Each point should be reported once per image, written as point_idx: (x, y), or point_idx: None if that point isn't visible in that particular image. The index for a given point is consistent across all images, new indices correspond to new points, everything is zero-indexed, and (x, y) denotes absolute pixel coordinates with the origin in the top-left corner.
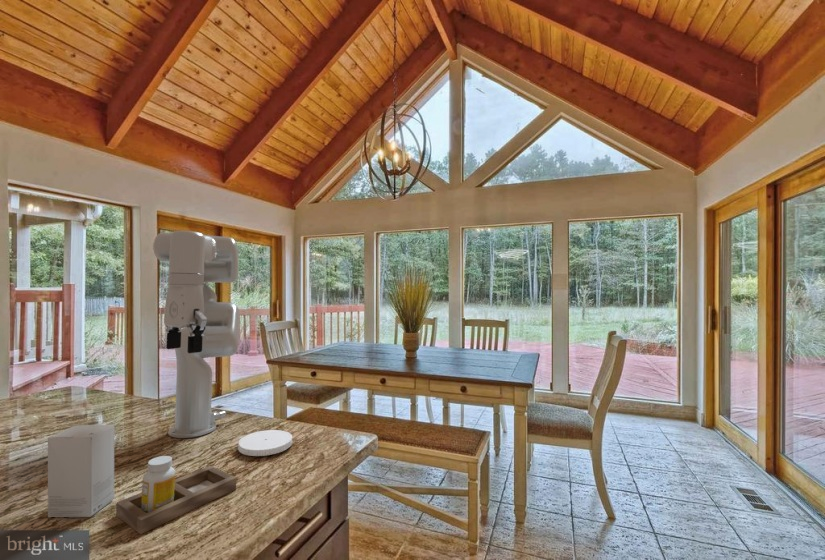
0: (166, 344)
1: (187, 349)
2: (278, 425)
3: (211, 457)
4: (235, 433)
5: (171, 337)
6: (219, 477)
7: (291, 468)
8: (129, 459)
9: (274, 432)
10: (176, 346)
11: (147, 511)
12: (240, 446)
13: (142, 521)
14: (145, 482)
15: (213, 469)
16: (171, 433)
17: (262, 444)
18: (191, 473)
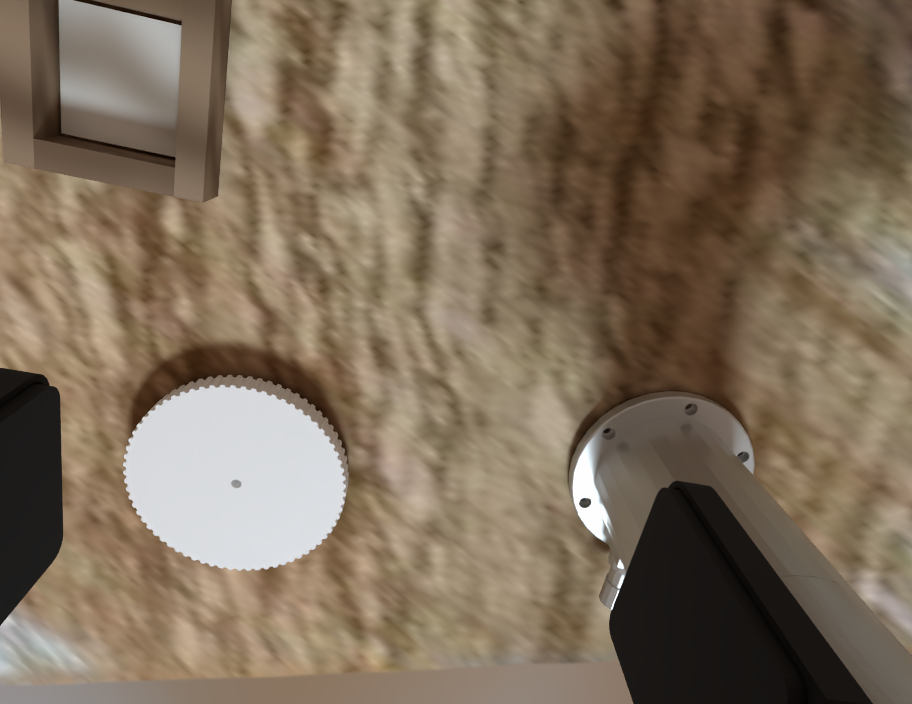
0: (736, 519)
1: (12, 395)
2: (374, 630)
3: (363, 319)
4: (468, 515)
5: (723, 656)
6: (87, 148)
7: None
8: (662, 173)
9: (264, 545)
10: (631, 592)
11: None
12: (271, 395)
13: None
14: None
15: (156, 179)
16: (692, 398)
17: (205, 442)
18: (202, 112)
